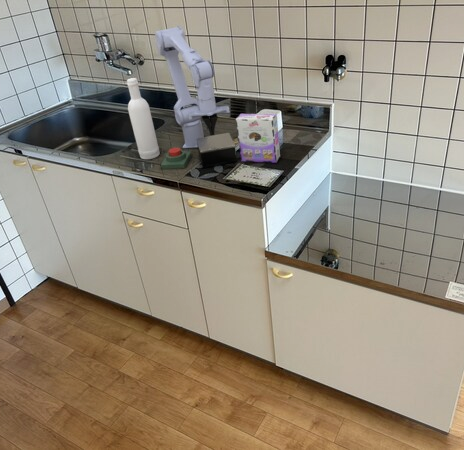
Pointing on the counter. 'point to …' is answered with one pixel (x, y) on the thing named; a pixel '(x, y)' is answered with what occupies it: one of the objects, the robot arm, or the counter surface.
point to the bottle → (142, 122)
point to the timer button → (174, 152)
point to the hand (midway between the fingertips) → (212, 134)
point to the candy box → (258, 137)
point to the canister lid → (215, 142)
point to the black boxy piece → (218, 157)
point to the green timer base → (176, 160)
